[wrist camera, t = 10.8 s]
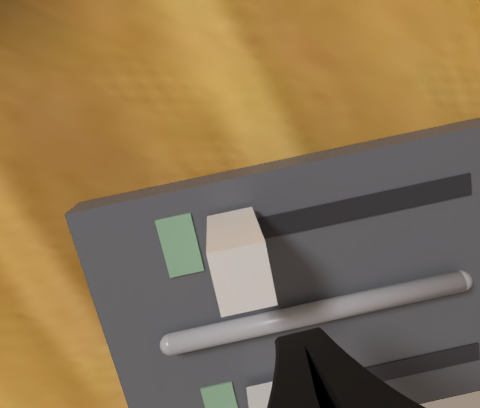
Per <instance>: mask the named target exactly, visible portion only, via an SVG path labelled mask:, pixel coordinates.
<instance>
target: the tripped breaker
mask: <svg viewBox="0 0 480 408" xmlns="http://www.w3.org/2000/svg"><path fill="white" fill-rule="evenodd" d="M272 382H273V381H272ZM272 382H268V383H263V384H259V385H254V386H250V387H246V390H247V398H248V406H249V408H267V405H268V401H269V397H270V393H271V388H272Z"/></svg>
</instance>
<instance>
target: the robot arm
mask: <svg viewBox="0 0 480 408" xmlns="http://www.w3.org/2000/svg"><path fill="white" fill-rule="evenodd" d="M275 348H276V358H275V369H274V376H273V382H272V388H271V393H270V397H269V401H268V405H267V408H425V407H423V406H421V405H419V404H418V403H416V402H414V401H413V400H411V399H409V398H408V397H406V396H404V395H403V394H401V393H400V392H398V391H397V390H395V389H394V388H392V387H391V386H389V385H388V384H386V383H385V382H383V381H382V380H381V379H379V378H378V377H376V376H375V375H374V374H372V373H371V372H370V371H368V370H367V369H366V368H365V367H363V366H362V365H361V364H360V363H358V362H357V361H356V360H355V359H354V358H352V357H351V356H350V355H349V354H348V353H346V352H345V351H344V350H343V349H342V348H341V347H340V346H339V345H338V344H337V343H335V342H334V341H333V340H332V339H331V338H330V337H329V336H328V335H327V334H326V333H325V332H324V330H322V329H321V328H319V327H317V328H313V329H309V330H305V331H301V332H296V333H292V334H288V335H284V336H280V337H277V339H276V340H275Z"/></svg>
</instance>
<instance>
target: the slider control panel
mask: <svg viewBox="0 0 480 408" xmlns="http://www.w3.org/2000/svg"><path fill="white" fill-rule="evenodd" d="M248 207H252V208H253V211H254V213H255V216H256V218H257V221H258V224H259V226H260V229H261V231H262V234H263V237H264V239H265V242H266V247H267V253H268V258H269V263H270V268H271V273H272V278H273V283H274V288H275V293H276V299H277V304H278V305H277V306H272V307H268V308H263V309H258V310H254V311H249V312H245V313H240V314H235V315H231V316H226V317H222V318H221V314H220V310H219V306H218V302H217V298H216V294H215V289H214V285H213V281H212V277H211V273H210V269H209V264H208V260H207V256H206V235H207V216H210V215H215V214H220V213H224V212H229V211H234V210H238V209H243V208H248ZM65 217H66V220H67V223H68V227H69V230H70V233H71V236H72V239H73V242H74V245H75V248H76V251H77V254H78V257H79V260H80V263H81V266H82V269H83V272H84V275H85V278H86V281H87V284H88V287H89V290H90V293H91V296H92V299H93V302H94V305H95V308H96V311H97V314H98V317H99V320H100V323H101V326H102V329H103V332H104V335H105V338H106V341H107V344H108V347H109V350H110V353H111V356H112V359H113V362H114V365H115V368H116V371H117V374H118V377H119V380H120V383H121V386H122V389H123V392H124V395H125V398H126V401H127V404H128V407H129V408H249V406H248V398H247V390H246V387H250V386H254V385H259V384H263V383H268V382H272V381H273V376H274V369H275V358H276V348H275V340H276V339H277V337H280V336H284V335H288V334H292V333H296V332H301V331H305V330H309V329H313V328H317V327H319V328H321V329H322V330H324V332H325V333H326V334H327V335H328V336H329V337H330V338H331V339H332V340H333V341H334V342H335V343H337V344H338V345H339V346H340V347H341V348H342V349H343V350H344V351H345V352H346V353H348V354H349V355H350V356H351V357H352V358H354V359H355V360H356V361H357V362H358V363H360V364H361V365H362V366H363V367H365V368H366V369H367V370H368V371H370V372H371V373H372V374H374V375H375V376H376V377H378V378H379V379H381V380H382V381H383V382H385V383H386V384H388V385H389V386H391V387H392V388H394V389H395V390H397V391H398V392H400V393H401V394H403V395H404V396H406V397H408V398H409V399H411V400H413V401H414V402H416V403H418V404H422V403H426V402H430V401H435V400H439V399H444V398H448V397H453V396H457V395H462V394H466V393H471V392H475V391H480V118H477V119H472V120H467V121H463V122H458V123H453V124H448V125H444V126H439V127H434V128H429V129H425V130H420V131H415V132H411V133H406V134H401V135H396V136H392V137H387V138H382V139H377V140H373V141H368V142H363V143H359V144H354V145H349V146H344V147H340V148H335V149H330V150H326V151H321V152H316V153H311V154H307V155H302V156H297V157H292V158H288V159H283V160H278V161H274V162H269V163H264V164H259V165H255V166H250V167H245V168H241V169H236V170H231V171H226V172H222V173H217V174H212V175H207V176H203V177H198V178H193V179H189V180H184V181H179V182H174V183H170V184H165V185H160V186H155V187H151V188H146V189H141V190H137V191H132V192H127V193H122V194H118V195H113V196H108V197H104V198H99V199H94V200H89V201H85V202H80V203H78V204H77V205H75V206H74V207H73V208H72V209H71V210H69V211H68V212H67V213H66V214H65Z"/></svg>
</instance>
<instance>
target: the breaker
mask: <svg viewBox="0 0 480 408" xmlns="http://www.w3.org/2000/svg"><path fill="white" fill-rule="evenodd" d="M206 256H207V260H208V264H209V269H210V273H211V277H212V281H213V285H214V289H215V294H216V298H217V302H218V306H219V310H220V314H221V318H222V317H226V316H231V315H235V314H240V313H245V312H249V311H254V310H258V309H263V308H268V307H272V306H277V305H278V304H277V299H276V293H275V288H274V283H273V278H272V273H271V268H270V263H269V258H268V253H267V247H266V242H265V239H264V237H263V234H262V231H261V229H260V226H259V224H258V221H257V218H256V216H255V213H254V211H253V208H252V207H248V208H243V209H238V210H234V211H229V212H224V213H220V214H215V215H210V216H207V235H206Z"/></svg>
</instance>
